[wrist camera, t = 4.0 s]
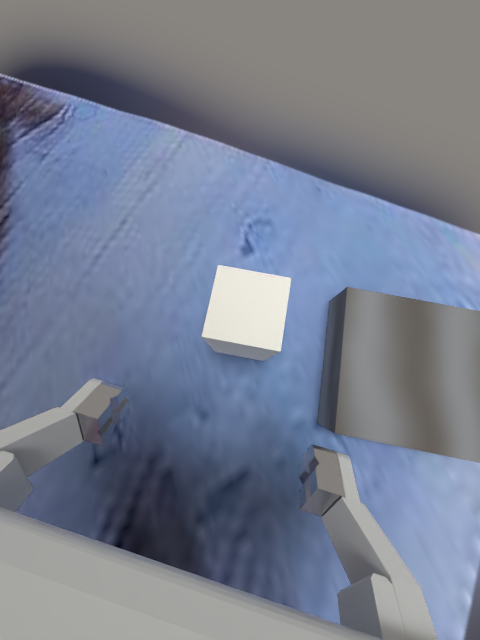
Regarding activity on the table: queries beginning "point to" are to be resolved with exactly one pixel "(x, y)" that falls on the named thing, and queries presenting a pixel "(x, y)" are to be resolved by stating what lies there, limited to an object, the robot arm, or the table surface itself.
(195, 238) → the table surface
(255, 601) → the robot arm
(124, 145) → the table surface
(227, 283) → the off-white block
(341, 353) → the grey square slab
